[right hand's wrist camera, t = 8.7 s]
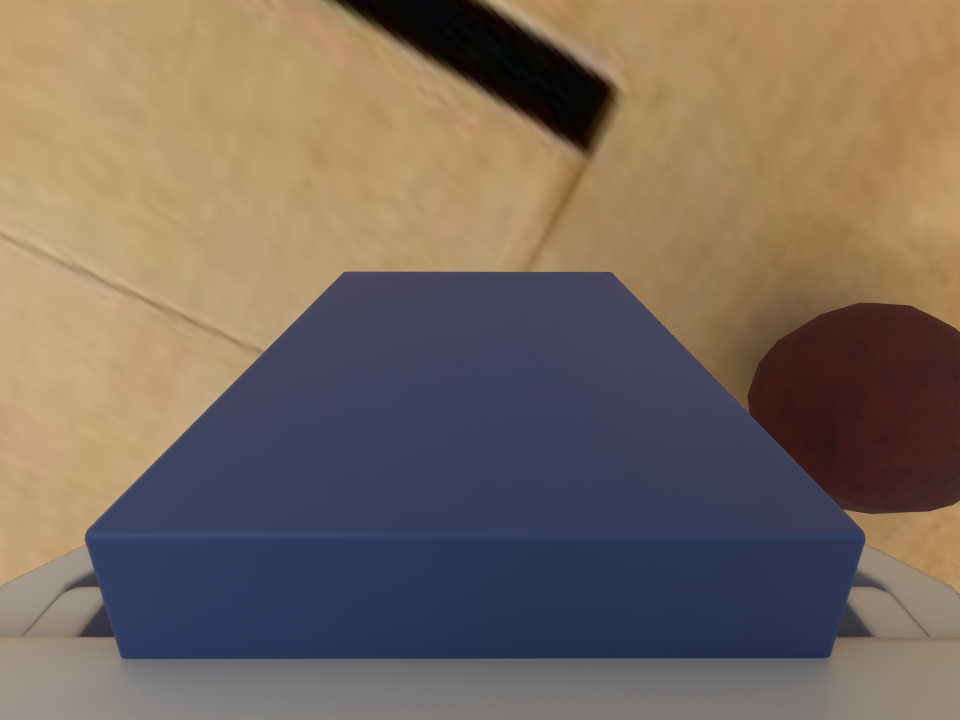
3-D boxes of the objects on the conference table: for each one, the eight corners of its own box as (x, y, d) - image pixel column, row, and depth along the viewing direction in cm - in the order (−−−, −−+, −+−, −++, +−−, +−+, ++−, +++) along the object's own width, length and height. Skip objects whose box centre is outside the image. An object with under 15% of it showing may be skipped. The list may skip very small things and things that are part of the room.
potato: (887, 445, 25) (1031, 556, 18) (709, 448, 25) (790, 560, 18) (932, 280, 22) (1121, 342, 16) (733, 284, 22) (837, 347, 16)
